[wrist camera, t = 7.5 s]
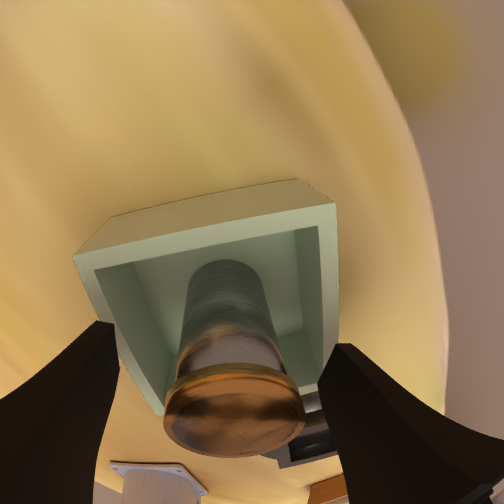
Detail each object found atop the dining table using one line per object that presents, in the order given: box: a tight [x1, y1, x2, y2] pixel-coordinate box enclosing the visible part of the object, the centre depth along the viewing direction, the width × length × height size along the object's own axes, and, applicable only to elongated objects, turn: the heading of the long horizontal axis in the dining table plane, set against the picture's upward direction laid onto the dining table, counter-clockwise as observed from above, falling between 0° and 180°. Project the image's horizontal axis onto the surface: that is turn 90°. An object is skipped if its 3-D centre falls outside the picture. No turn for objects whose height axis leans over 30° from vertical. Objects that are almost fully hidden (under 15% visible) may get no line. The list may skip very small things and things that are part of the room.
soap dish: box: [307, 474, 349, 504], centre depth 26 cm, size 12×10×5 cm
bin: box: [72, 179, 339, 416], centre depth 12 cm, size 8×8×4 cm
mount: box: [260, 391, 338, 469], centre depth 18 cm, size 10×10×2 cm
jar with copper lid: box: [163, 259, 306, 458], centre depth 10 cm, size 4×4×7 cm
